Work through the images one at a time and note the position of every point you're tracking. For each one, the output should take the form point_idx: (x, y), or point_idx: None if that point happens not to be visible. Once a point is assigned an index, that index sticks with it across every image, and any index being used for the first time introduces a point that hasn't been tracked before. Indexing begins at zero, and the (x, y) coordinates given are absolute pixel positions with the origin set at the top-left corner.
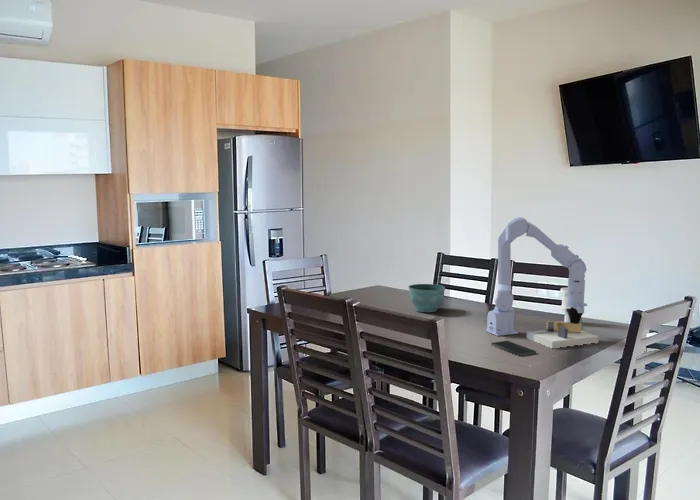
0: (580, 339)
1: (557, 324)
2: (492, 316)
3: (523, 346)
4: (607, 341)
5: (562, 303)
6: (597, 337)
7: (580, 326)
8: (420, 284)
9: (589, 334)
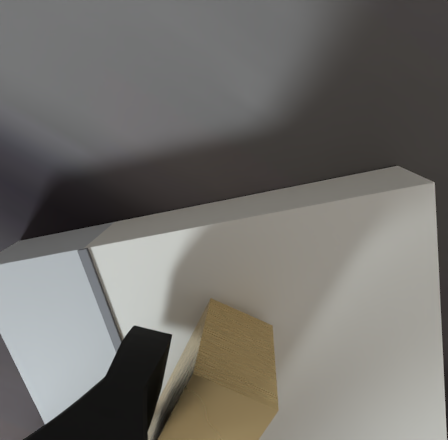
0: (440, 407)
1: None
2: None
3: None
4: (360, 6)
5: None
6: (427, 194)
7: (269, 393)
8: None
9: (322, 246)
